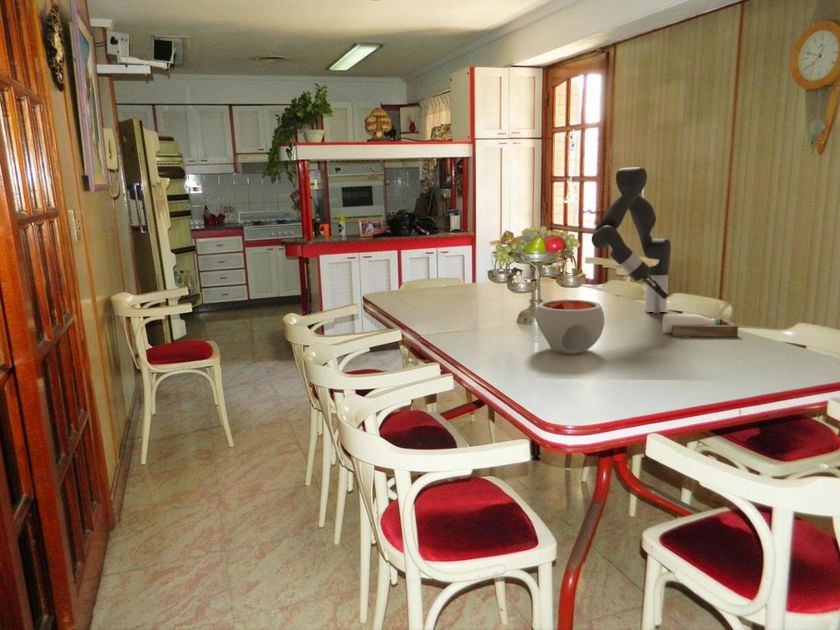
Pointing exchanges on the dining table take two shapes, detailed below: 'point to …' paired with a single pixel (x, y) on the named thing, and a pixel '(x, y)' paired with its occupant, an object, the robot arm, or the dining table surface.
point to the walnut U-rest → (706, 329)
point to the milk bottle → (685, 321)
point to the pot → (570, 324)
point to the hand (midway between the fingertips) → (665, 297)
